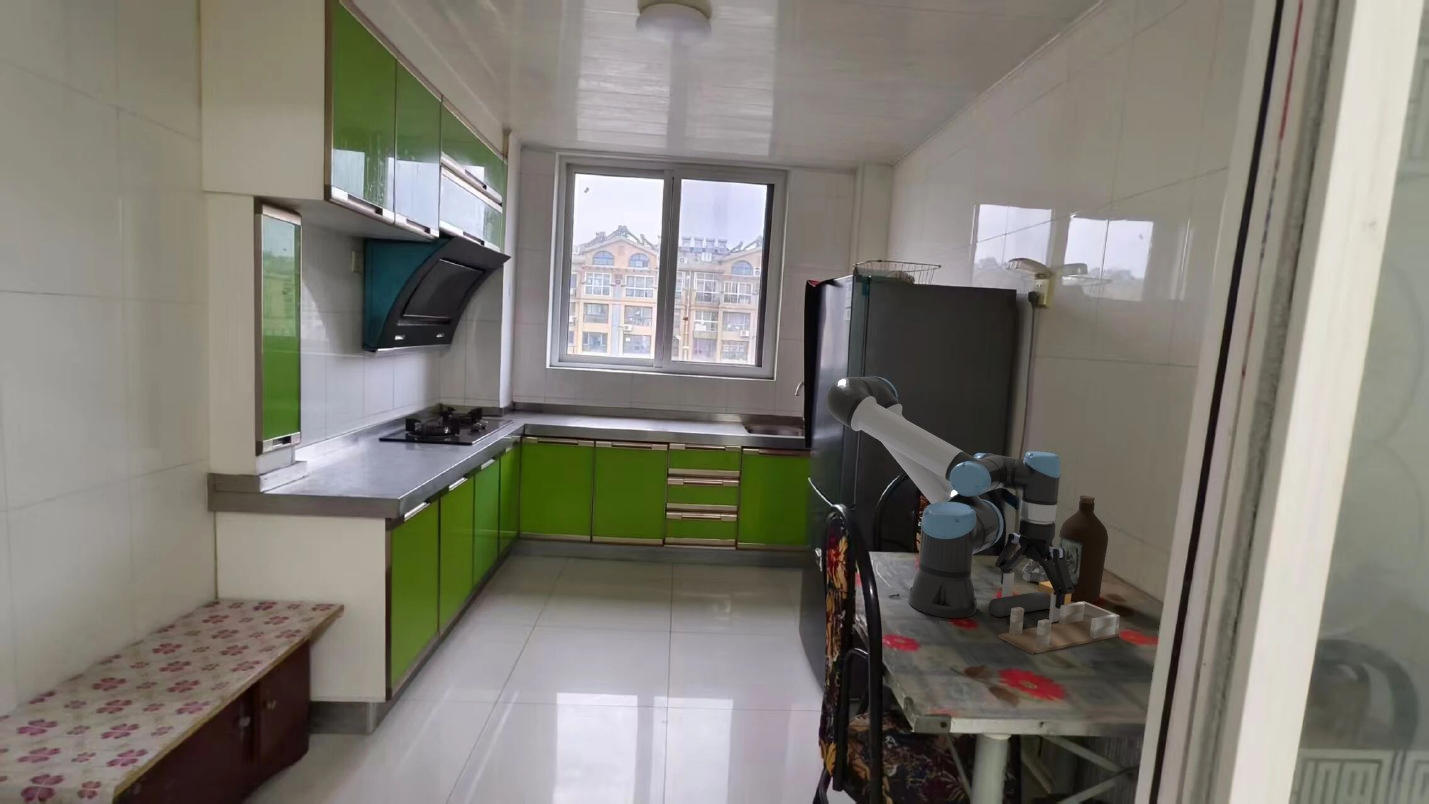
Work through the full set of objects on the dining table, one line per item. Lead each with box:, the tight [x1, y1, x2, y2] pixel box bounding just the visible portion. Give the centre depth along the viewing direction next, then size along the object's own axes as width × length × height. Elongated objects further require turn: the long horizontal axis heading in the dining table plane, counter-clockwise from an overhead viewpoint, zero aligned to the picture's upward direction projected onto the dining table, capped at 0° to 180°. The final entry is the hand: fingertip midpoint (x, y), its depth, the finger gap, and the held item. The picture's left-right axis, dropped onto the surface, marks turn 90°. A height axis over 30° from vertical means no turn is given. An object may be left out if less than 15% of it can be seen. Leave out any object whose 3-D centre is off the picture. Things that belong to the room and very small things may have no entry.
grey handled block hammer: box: [988, 581, 1072, 618], centre depth 167 cm, size 22×5×5 cm, turn 115°
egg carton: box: [1021, 559, 1049, 584], centre depth 191 cm, size 11×8×4 cm
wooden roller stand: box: [997, 601, 1120, 655], centre depth 153 cm, size 26×9×6 cm, turn 115°
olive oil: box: [1058, 495, 1109, 604], centre depth 177 cm, size 11×11×25 cm
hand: (1029, 610), depth 167 cm, fingers open, 13 cm apart
